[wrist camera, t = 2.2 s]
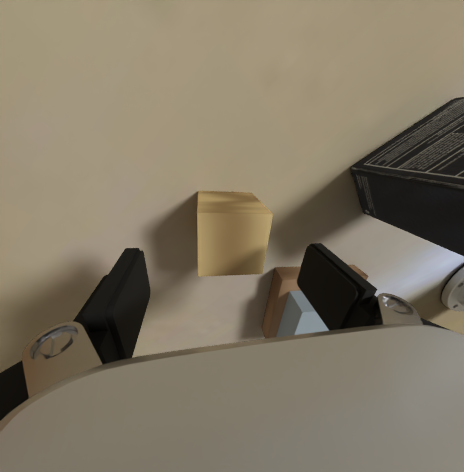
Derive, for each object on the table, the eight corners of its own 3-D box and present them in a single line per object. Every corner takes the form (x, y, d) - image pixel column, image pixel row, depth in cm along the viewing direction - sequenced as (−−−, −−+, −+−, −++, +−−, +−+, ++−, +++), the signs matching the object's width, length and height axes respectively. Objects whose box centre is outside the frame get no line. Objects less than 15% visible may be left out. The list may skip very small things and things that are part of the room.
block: (251, 192, 17) (273, 214, 12) (245, 238, 20) (262, 273, 14) (198, 190, 17) (197, 212, 11) (198, 239, 19) (198, 276, 13)
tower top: (349, 288, 22) (369, 307, 20) (328, 331, 26) (343, 352, 23) (289, 291, 21) (302, 312, 18) (276, 336, 24) (285, 359, 22)
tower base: (350, 261, 24) (368, 276, 22) (325, 318, 29) (338, 335, 27) (272, 264, 23) (282, 280, 20) (260, 323, 27) (266, 342, 25)
